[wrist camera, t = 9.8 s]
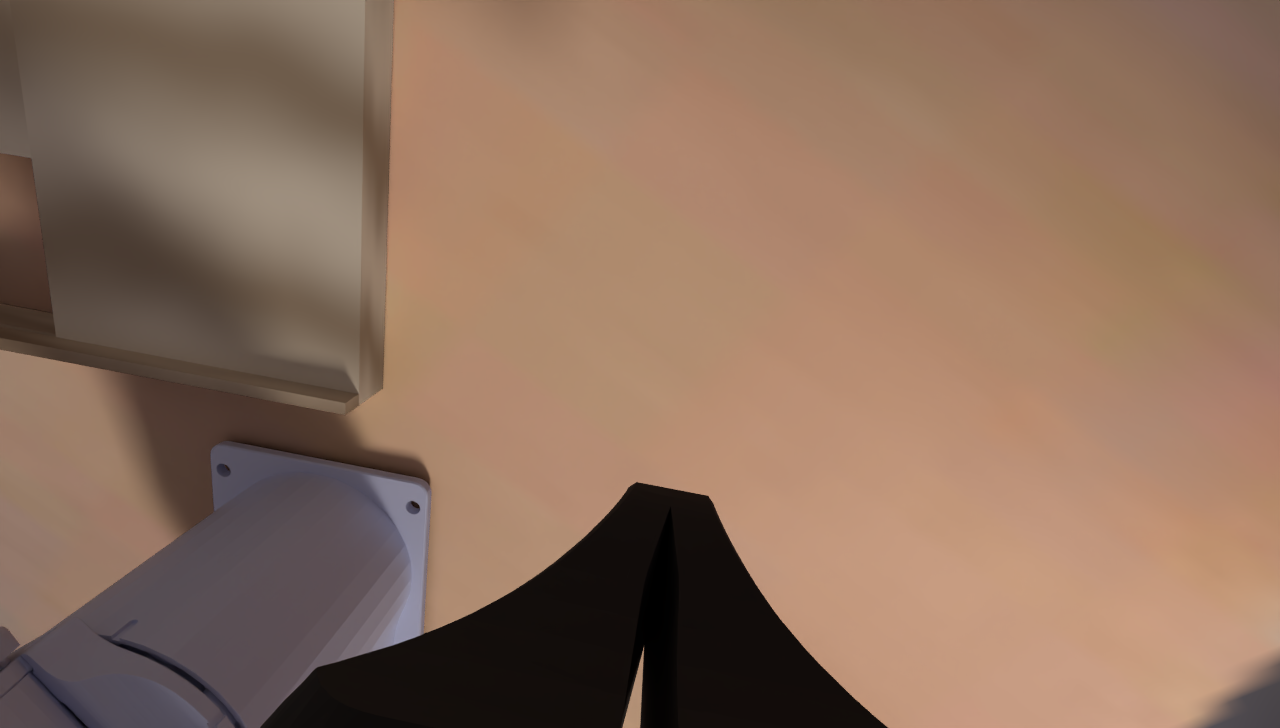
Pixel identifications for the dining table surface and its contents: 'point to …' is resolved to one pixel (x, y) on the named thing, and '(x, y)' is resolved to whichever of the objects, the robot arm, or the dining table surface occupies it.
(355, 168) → the wooden tray
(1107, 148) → the dining table surface
